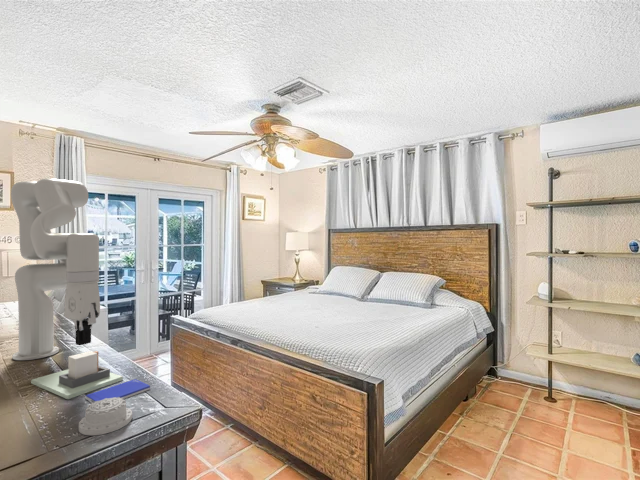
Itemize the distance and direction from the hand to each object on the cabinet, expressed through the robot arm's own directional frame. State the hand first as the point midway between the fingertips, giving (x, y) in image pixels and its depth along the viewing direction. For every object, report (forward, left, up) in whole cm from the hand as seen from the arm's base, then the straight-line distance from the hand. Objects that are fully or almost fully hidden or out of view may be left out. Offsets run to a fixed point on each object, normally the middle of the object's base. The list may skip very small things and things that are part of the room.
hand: (83, 343), depth 97 cm
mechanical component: (+27, -8, -12) cm, 30 cm away
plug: (0, 0, -10) cm, 10 cm away
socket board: (-3, 0, -11) cm, 12 cm away
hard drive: (+15, +1, -12) cm, 19 cm away
